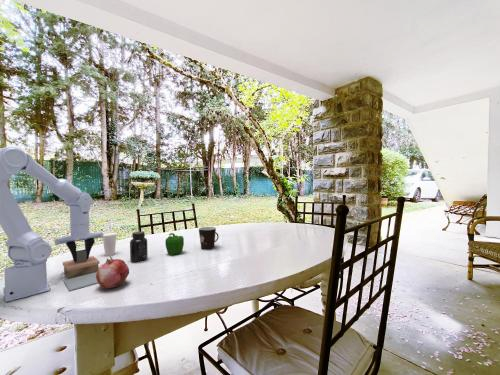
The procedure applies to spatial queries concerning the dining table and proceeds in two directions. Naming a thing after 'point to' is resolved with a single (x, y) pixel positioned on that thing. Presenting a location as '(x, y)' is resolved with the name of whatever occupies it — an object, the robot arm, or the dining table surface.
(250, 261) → the dining table surface
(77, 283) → the mat
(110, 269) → the fruit
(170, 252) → the bell pepper
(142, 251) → the supplement bottle
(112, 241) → the smoothie
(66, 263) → the lid
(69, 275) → the box
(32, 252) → the robot arm
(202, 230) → the coffee mug
